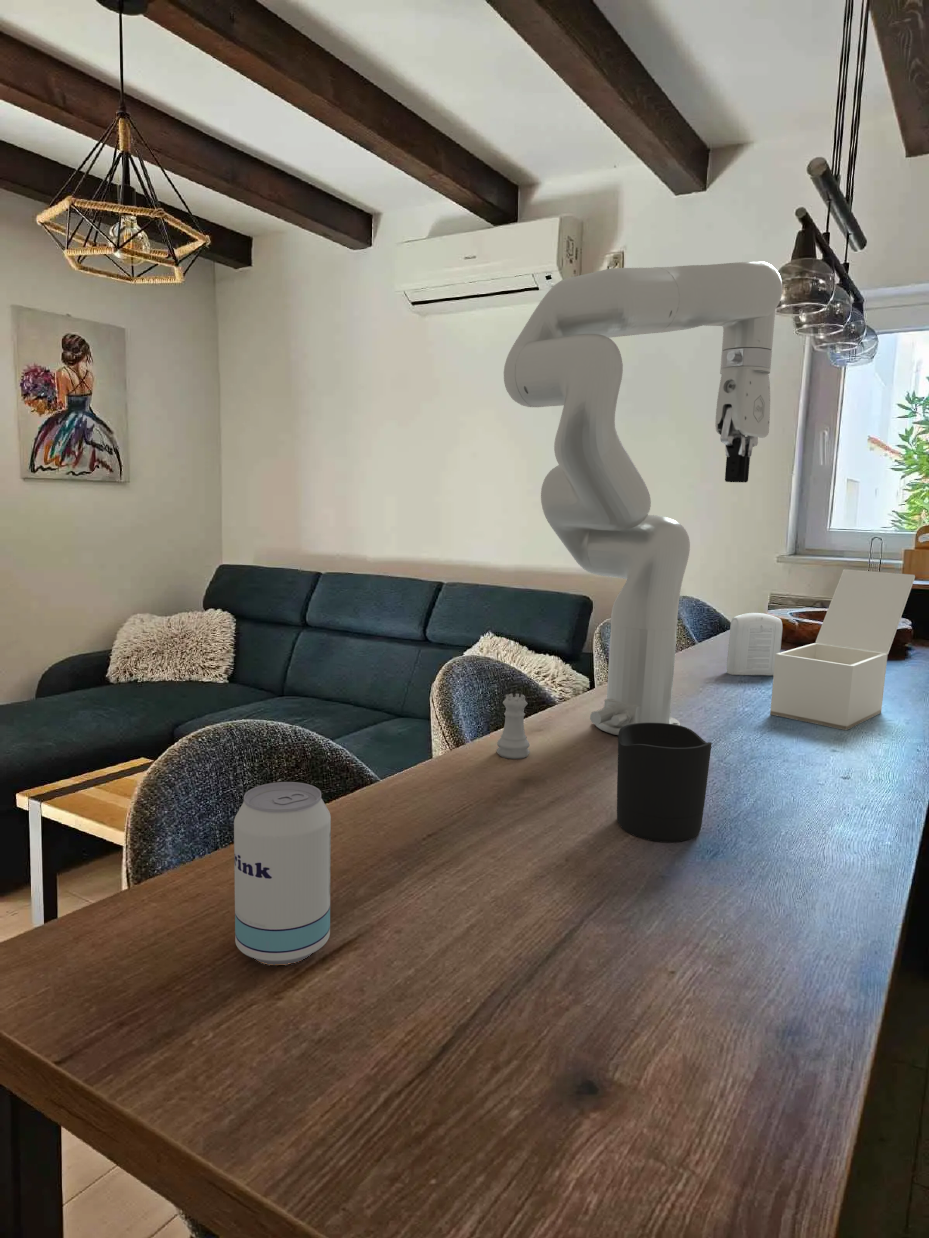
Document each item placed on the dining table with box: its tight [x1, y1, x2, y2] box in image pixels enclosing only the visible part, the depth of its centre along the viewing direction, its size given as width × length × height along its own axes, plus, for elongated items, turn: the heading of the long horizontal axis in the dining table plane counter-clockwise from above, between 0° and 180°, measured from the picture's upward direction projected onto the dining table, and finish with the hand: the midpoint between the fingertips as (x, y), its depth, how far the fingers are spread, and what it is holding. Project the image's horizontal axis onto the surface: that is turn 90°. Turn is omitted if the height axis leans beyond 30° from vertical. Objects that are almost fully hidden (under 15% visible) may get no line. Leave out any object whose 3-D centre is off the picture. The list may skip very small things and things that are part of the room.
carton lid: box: [815, 568, 916, 655], centre depth 145 cm, size 16×12×1 cm
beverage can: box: [233, 781, 332, 965], centre depth 62 cm, size 7×7×12 cm
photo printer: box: [726, 612, 784, 677], centre depth 166 cm, size 10×4×12 cm, turn 98°
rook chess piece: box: [495, 693, 531, 760], centre depth 110 cm, size 4×4×8 cm
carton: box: [770, 642, 889, 731], centre depth 137 cm, size 16×12×10 cm
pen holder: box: [616, 723, 713, 843], centre depth 87 cm, size 9×9×10 cm
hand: (736, 481), depth 134 cm, fingers closed
